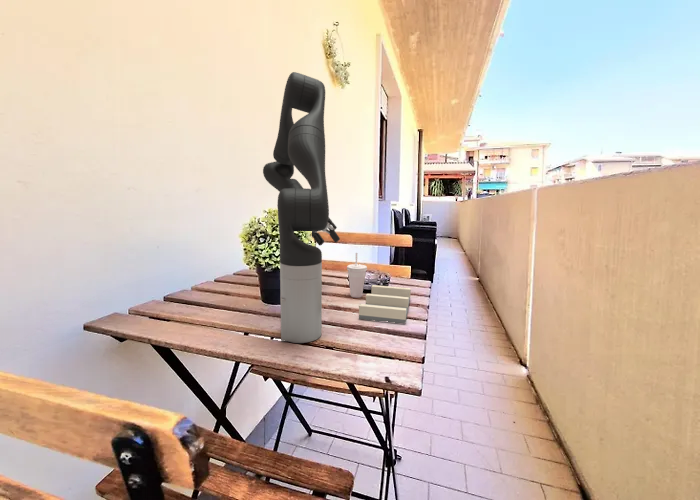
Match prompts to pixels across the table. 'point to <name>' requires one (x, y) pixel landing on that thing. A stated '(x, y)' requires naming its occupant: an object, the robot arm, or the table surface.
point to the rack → (386, 304)
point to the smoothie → (356, 278)
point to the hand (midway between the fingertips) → (330, 242)
